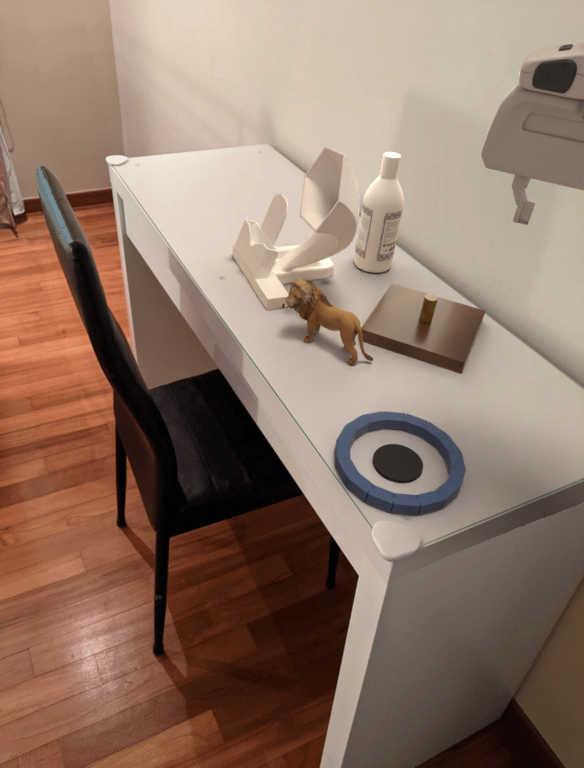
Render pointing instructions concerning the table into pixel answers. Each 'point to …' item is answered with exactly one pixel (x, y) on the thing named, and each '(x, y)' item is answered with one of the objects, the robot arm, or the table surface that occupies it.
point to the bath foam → (380, 218)
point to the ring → (384, 497)
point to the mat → (397, 463)
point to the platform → (423, 327)
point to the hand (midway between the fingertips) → (570, 234)
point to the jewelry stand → (311, 258)
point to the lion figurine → (325, 316)
